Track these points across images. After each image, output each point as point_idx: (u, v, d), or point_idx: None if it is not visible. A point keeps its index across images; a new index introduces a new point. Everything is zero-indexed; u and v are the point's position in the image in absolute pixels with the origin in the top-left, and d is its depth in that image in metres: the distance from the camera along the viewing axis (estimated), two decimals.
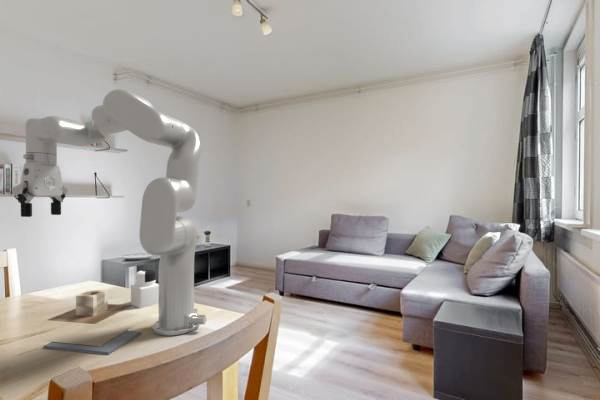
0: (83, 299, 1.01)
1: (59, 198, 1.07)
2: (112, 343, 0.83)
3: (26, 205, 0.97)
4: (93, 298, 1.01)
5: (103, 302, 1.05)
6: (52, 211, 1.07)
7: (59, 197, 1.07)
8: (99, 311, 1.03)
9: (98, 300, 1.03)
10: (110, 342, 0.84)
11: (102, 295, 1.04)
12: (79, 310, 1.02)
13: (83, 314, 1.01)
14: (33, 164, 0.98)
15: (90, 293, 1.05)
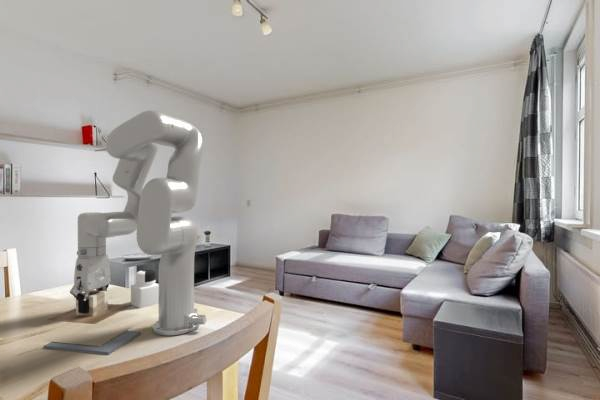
0: None
1: (104, 288, 1.08)
2: (112, 343, 0.83)
3: (84, 302, 1.00)
4: (93, 298, 1.01)
5: (103, 302, 1.05)
6: None
7: (104, 287, 1.08)
8: (99, 311, 1.03)
9: (98, 300, 1.03)
10: (110, 342, 0.84)
11: (102, 295, 1.04)
12: None
13: (83, 314, 1.01)
14: (86, 260, 1.00)
15: (90, 293, 1.05)
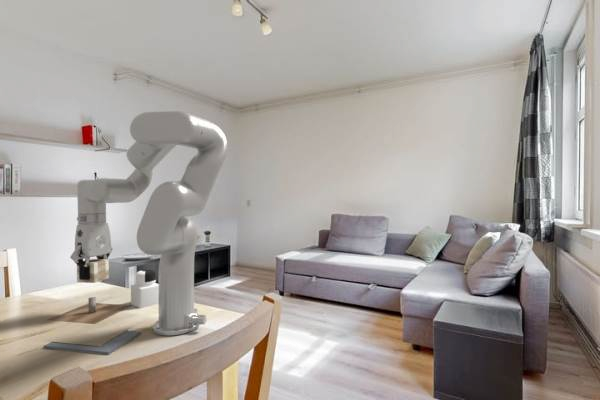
0: None
1: (105, 257, 1.07)
2: (112, 343, 0.83)
3: (85, 269, 1.00)
4: (94, 264, 1.01)
5: (104, 270, 1.05)
6: None
7: (105, 256, 1.07)
8: (100, 278, 1.03)
9: (99, 267, 1.03)
10: (110, 342, 0.84)
11: (103, 263, 1.04)
12: None
13: (84, 281, 1.01)
14: (86, 226, 0.99)
15: (91, 261, 1.05)
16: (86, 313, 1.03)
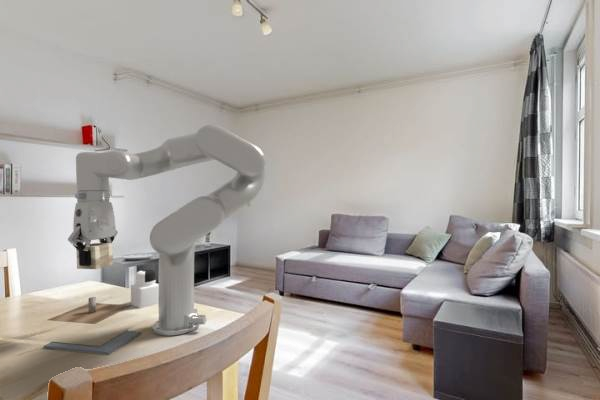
0: None
1: (109, 241, 0.95)
2: (112, 343, 0.83)
3: (85, 253, 0.87)
4: (95, 248, 0.88)
5: (107, 255, 0.92)
6: None
7: (109, 240, 0.95)
8: (103, 264, 0.90)
9: (101, 252, 0.90)
10: (110, 342, 0.84)
11: (106, 247, 0.92)
12: None
13: (85, 267, 0.89)
14: (86, 204, 0.87)
15: (93, 245, 0.93)
16: (86, 313, 1.03)
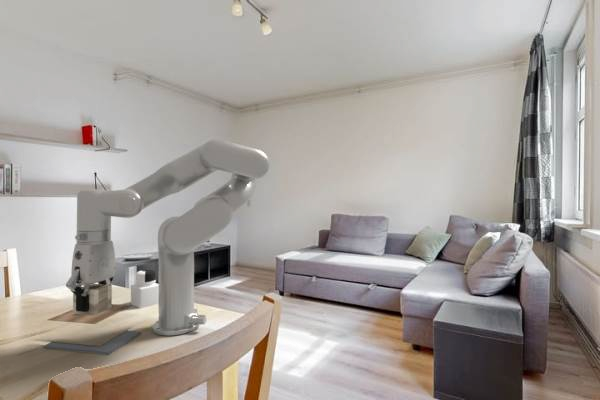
0: None
1: (108, 282, 0.89)
2: (112, 343, 0.83)
3: (83, 298, 0.82)
4: (94, 293, 0.82)
5: (106, 298, 0.86)
6: None
7: (108, 281, 0.89)
8: (101, 309, 0.85)
9: (100, 296, 0.84)
10: (110, 342, 0.84)
11: (105, 290, 0.86)
12: None
13: (82, 313, 0.83)
14: (87, 246, 0.81)
15: (90, 287, 0.87)
16: None
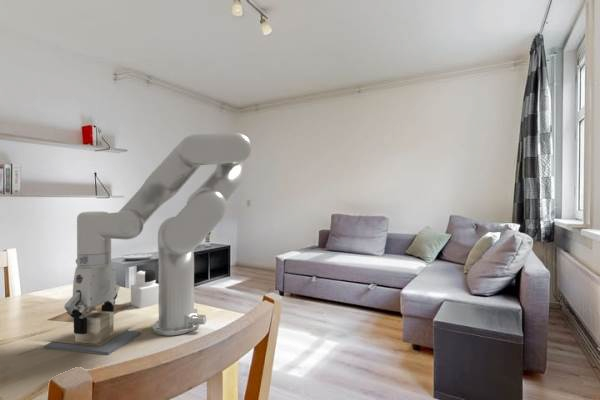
0: None
1: (112, 300, 0.90)
2: (112, 343, 0.83)
3: (81, 321, 0.81)
4: (96, 322, 0.83)
5: (108, 326, 0.87)
6: None
7: (112, 299, 0.90)
8: (103, 337, 0.85)
9: (102, 324, 0.85)
10: (110, 342, 0.84)
11: (107, 317, 0.86)
12: (78, 337, 0.83)
13: (84, 341, 0.83)
14: (87, 270, 0.81)
15: (92, 315, 0.87)
16: (86, 313, 1.03)
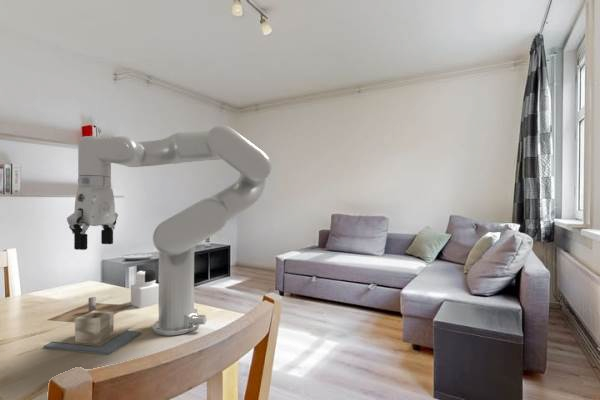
0: (84, 323, 0.83)
1: (111, 225, 0.94)
2: (112, 343, 0.83)
3: (81, 236, 0.84)
4: (96, 322, 0.83)
5: (108, 326, 0.87)
6: (103, 240, 0.94)
7: (111, 224, 0.94)
8: (103, 337, 0.85)
9: (102, 324, 0.85)
10: (110, 342, 0.84)
11: (107, 317, 0.86)
12: (78, 337, 0.83)
13: (84, 341, 0.83)
14: (89, 189, 0.85)
15: (92, 315, 0.87)
16: (86, 313, 1.03)
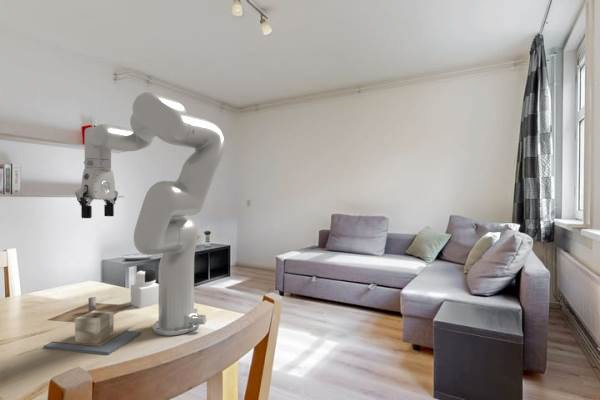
0: (84, 323, 0.83)
1: (112, 201, 1.15)
2: (112, 343, 0.83)
3: (87, 207, 1.05)
4: (96, 322, 0.83)
5: (108, 326, 0.87)
6: (105, 213, 1.15)
7: (112, 200, 1.15)
8: (103, 337, 0.85)
9: (102, 324, 0.85)
10: (110, 342, 0.84)
11: (107, 317, 0.86)
12: (78, 337, 0.83)
13: (84, 341, 0.83)
14: (93, 169, 1.06)
15: (92, 315, 0.87)
16: (86, 313, 1.03)
